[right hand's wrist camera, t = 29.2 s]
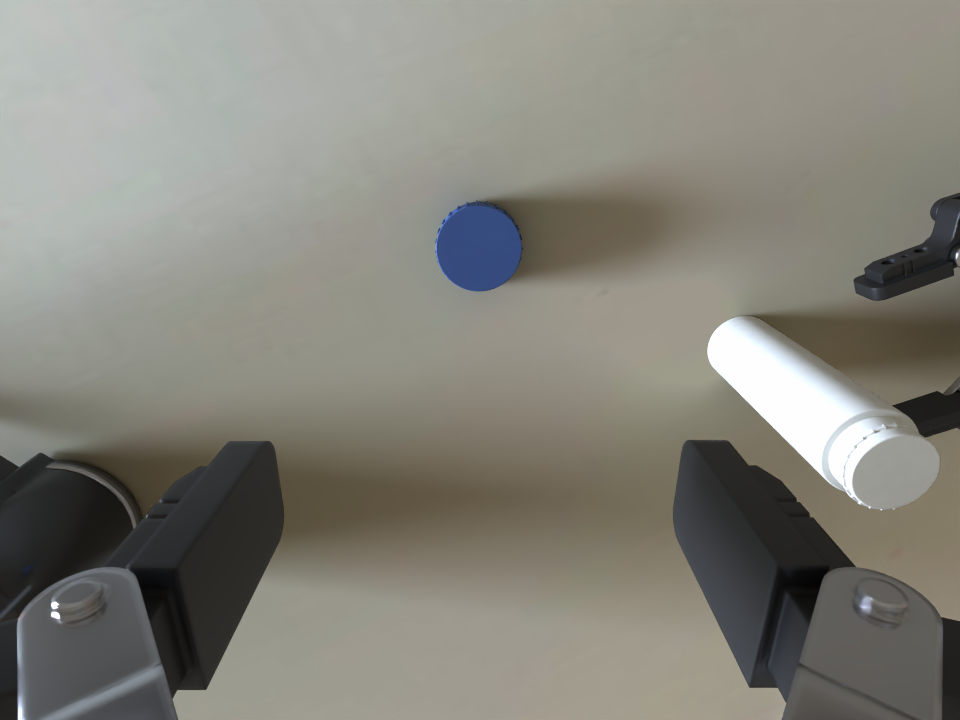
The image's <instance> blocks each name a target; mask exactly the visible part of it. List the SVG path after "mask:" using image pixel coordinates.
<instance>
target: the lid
mask: <svg viewBox="0 0 960 720" xmlns="http://www.w3.org/2000/svg"><path fill="white" fill-rule="evenodd" d="M442 224H443V225H442V227H441V228H439V230H438V237H437V239H436V241H435V243H436V251H435V253H436V255H437V260H438V263H439V265H440V267H441V269H442V271H443V273H444V274H445V275H446V276H447V278H448V279H449V280H451V281H452V282H453V283H454V284H456V285H457V286H459V287H461V288H464V289H467V290H471V291H487V290H491V289H494V288H496V287H499V286H500V285H502V284H504V283H505V282H506V281H507V280H508V279H509V278H510V277H511V276H512V275H513V274H514V272H515V271H516V269H517V267H518V265H519V262H520V260H521V253H522V250H523V248H522V244H521V240H522V238H521V235H519V232H518V230H519V228H518V226H517V225H515V223H514V220H513V217H510V216H509V215H508V214H507V212H506V210H502V209H501V208H499V207H498V205H493V204H490V203H488V202H487V201H486V203H485V202H478V201H476V202H473V203H468V202H467V203H466V204H465V205H463V206H460V207H459V206H458V207H457V209H455V210H454V211H453V212H452V213H451V212H450V213H449V215H448V217H447V218H446V220H445V219H444V220H443V222H442Z"/></svg>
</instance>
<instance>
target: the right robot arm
mask: <svg viewBox="0 0 960 720" xmlns="http://www.w3.org/2000/svg"><path fill="white" fill-rule="evenodd" d="M673 522H674V529H675V533H676V537H677V540H678V542H679V544H680V546H681V548H682V550H683V552H684V554H685V556H686V558H687V561H688V563H689V565H690V567H691V569H692V571H693V573H694V575H695V577H696V579H697V581H698V583H699V585H700V587H701V589H702V591H703V593H704V595H705V597H706V599H707V602H708V604H709V606H710V608H711V610H712V612H713V614H714V616H715V618H716V620H717V622H718V624H719V626H720V628H721V630H722V632H723V634H724V636H725V638H726V640H727V643H728V645H729V647H730V649H731V651H732V653H733V655H734V657H735V659H736V661H737V663H738V665H739V667H740V669H741V671H742V673H743V675H744V677H745V679H746V681H747V684H748V686H749V688H778V689H779V691H780V692H781V694H782V696H783V698H784V700H785V702H786V707H785V710H784V714H783V717H782V720H960V621H956V620H951V619H947V618H942V617H940V614H939V613H938V611H937V610H936V608H935V607H934V606H933V605H932V604H931V603H930V602H929V600H927V599H926V598H925V597H924V596H923V595H922V594H920V593H919V592H918V591H916V590H915V589H913V588H912V587H910V586H909V585H907V584H905V583H903V582H901V581H899V580H897V579H895V578H893V577H891V576H888V575H886V574H883V573H880V572H877V571H874V570H869V569H865V568H858V567H856V566H855V565H854V564H853V563H852V562H851V561H850V559H849V558H848V557H847V556H846V555H845V554H844V553H843V551H842V550H841V549H840V548H839V547H838V546H837V545H836V543H835V542H834V541H833V540H832V539H831V538H830V536H829V535H828V534H827V533H826V532H825V531H824V530H823V528H822V527H821V526H820V525H819V524H818V523H817V522H816V520H815V519H814V518H813V517H810V516H809V512H808V511H807V510H806V509H805V508H804V507H803V505H802V504H801V503H800V502H797V500H796V497H795V496H794V495H793V494H792V493H791V492H790V491H789V489H788V488H787V487H786V486H785V485H784V484H783V482H782V481H781V480H779V479H777V478H776V477H774V476H773V475H771V474H769V473H768V472H766V471H765V470H763V469H762V468H760V467H758V466H749V465H748V464H747V463H746V462H745V460H744V459H743V458H742V457H741V456H740V454H739V453H738V452H737V451H736V449H735V448H734V447H733V446H732V444H731V443H730V442H729V441H727V440H687V441H686V442H685V443H684V445H683V448H682V452H681V458H680V465H679V472H678V479H677V486H676V493H675V500H674V507H673ZM283 524H284V507H283V500H282V494H281V487H280V480H279V473H278V467H277V460H276V453H275V449H274V446H273V444H272V443H271V442H270V441H230V442H228V443H227V444H226V445H225V446H224V447H223V449H222V450H221V451H220V452H219V453H218V455H217V456H216V457H215V458H214V460H213V461H212V462H211V463H210V464H209V466H208V467H198V468H197V469H195V470H193V471H192V472H190V473H189V474H187V475H186V476H184V477H182V478H181V479H179V480H178V481H176V482H175V483H174V484H173V485H172V486H171V487H170V488H169V490H168V491H167V492H166V493H165V494H164V495H163V496H162V498H161V499H160V502H159V504H155V506H154V507H153V508H152V509H151V510H150V511H149V512H148V514H147V515H146V519H142V520H141V516H140V512H139V510H138V507H137V505H136V503H135V501H134V500H133V498H132V496H131V495H130V494H129V493H128V491H127V490H126V489H125V488H124V487H123V486H122V485H121V484H120V483H119V482H118V481H116V480H115V479H114V478H112V477H111V476H109V475H108V474H106V473H105V472H103V471H101V470H99V469H97V468H95V467H92V466H90V465H86V464H83V463H79V462H74V461H66V460H53V459H51V458H49V457H48V456H46V455H44V454H42V453H39V454H37V455H36V456H34V457H33V458H32V459H30V460H29V461H27V462H26V463H25V464H23V465H22V466H20V467H18V466H16V465H15V464H13V463H12V462H10V461H8V460H7V459H5V458H3V457H2V456H0V720H178V717H177V714H176V710H175V707H174V703H173V700H172V699H173V697H174V695H175V693H176V691H177V690H206V689H207V687H208V685H209V683H210V681H211V679H212V677H213V675H214V673H215V671H216V669H217V667H218V665H219V663H220V661H221V659H222V657H223V655H224V653H225V651H226V649H227V646H228V644H229V642H230V640H231V638H232V636H233V634H234V632H235V630H236V628H237V626H238V624H239V622H240V620H241V618H242V616H243V614H244V612H245V610H246V608H247V606H248V604H249V602H250V600H251V598H252V596H253V594H254V592H255V590H256V588H257V586H258V584H259V582H260V580H261V578H262V576H263V574H264V572H265V570H266V567H267V565H268V563H269V561H270V559H271V557H272V555H273V553H274V551H275V549H276V547H277V545H278V543H279V541H280V538H281V535H282V530H283Z"/></svg>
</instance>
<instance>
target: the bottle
mask: <svg viewBox="0 0 960 720" xmlns="http://www.w3.org/2000/svg"><path fill="white" fill-rule="evenodd" d="M708 358H709V361H710V363H711V365H712V366H713V368H714V369H715V370H716V371H717V372H718V373H719V374H720V375H721V376H722V377H723V378H724V379H725V380H726V381H727V382H728V383H729V384H730V385H731V386H732V387H733V388H734V389H735V390H736V391H737V392H738V393H739V394H740V395H741V396H742V397H743V398H744V399H745V400H746V401H747V402H748V403H749V404H750V405H751V406H752V407H753V408H754V409H755V410H756V411H757V412H758V413H759V414H760V415H761V416H762V417H763V418H764V419H765V420H766V421H767V422H768V423H770V424H771V425H772V426H773V427H774V428H775V429H776V430H777V431H778V432H779V433H780V434H781V435H782V436H783V437H784V438H785V439H786V440H787V441H788V442H789V443H790V444H791V445H792V446H793V447H794V448H795V449H796V450H797V451H798V452H799V453H800V454H801V455H802V456H803V457H804V458H805V459H806V460H807V461H808V462H809V463H810V464H811V465H812V466H813V467H814V468H815V469H816V470H817V471H818V472H819V473H820V474H821V475H822V476H823V477H824V478H825V479H826V480H827V481H828V482H829V483H830V484H831V485H832V486H834V487H835V488H838V489H840V490H842V491H846V492H847V493H848V495H849V496H850V497H851V498H852V499H854V500H855V501H856V502H858V503H859V504H860V505H863V506H866V507H869V508H870V509H881V510H887V509H897V508H900V507H902V506H905V505H907V504H909V503H911V502H913V501H915V500H917V499H918V498H919V497H921V496H922V495H923V494H924V493H926V492H927V491H928V490H929V488H930V487H931V486H932V485H933V483H934V482H935V480H936V478H937V476H938V473H939V470H940V456H939V453H938V451H937V449H936V447H935V446H934V444H933V443H932V442H930V441H929V440H928V439H926V438H925V437H923V436H922V435H920V434H919V432H918V429H917V427H916V425H915V424H914V422H913V421H912V420H911V419H910V418H909V417H908V416H907V415H905V414H904V413H902V412H901V411H899V410H898V409H896V408H895V407H893V406H892V405H890V404H889V403H887V402H885V401H884V400H882V399H881V398H879V397H878V396H876V395H875V394H873V393H872V392H870V391H869V390H867V389H866V388H864V387H863V386H861V385H860V384H858V383H857V382H855V381H854V380H852V379H850V378H849V377H847V376H846V375H844V374H843V373H841V372H840V371H838V370H837V369H835V368H834V367H832V366H831V365H829V364H828V363H826V362H825V361H823V360H822V359H820V358H819V357H817V356H815V355H814V354H812V353H811V352H809V351H808V350H806V349H805V348H803V347H802V346H800V345H799V344H797V343H796V342H794V341H793V340H791V339H790V338H788V337H787V336H785V335H784V334H782V333H780V332H779V331H777V330H776V329H774V328H773V327H771V326H770V325H768V324H767V323H765V322H764V321H762V320H760V319H759V318H756V317H752V316H739V317H735V318H732V319H730V320H728V321H726V322H724V323H723V324H722V325H720V326H719V327H718V328H717V329H716V331H715V332H714V333H713V335H712V336H711V338H710V341H709V344H708Z"/></svg>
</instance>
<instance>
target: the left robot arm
mask: <svg viewBox="0 0 960 720" xmlns="http://www.w3.org/2000/svg"><path fill="white" fill-rule="evenodd" d="M930 214H931V217H932V219H933V220H935V225H934V229H933V232H932V234H931V236H930V237H929V238H928V239H927V240H926V241H925V242H924V243H922V244H920V245H918V246H915V247H912V248H910V249H907V250H904V251H901V252H899V253H896V254H894V255H890V256H888V257H886V258H882V259H879V260H877V261H874V262H872V263H871V264H870V265H868V266H867V267H866V268H865V269H864V270H865V274H864V275H861V276H859V277H856V278H855V279H854V285H855V291H856V293H857V294H859V295H861V296H864V297H866V298H869V299H871V300H875V301H880V300H885V299H889V298H891V297H894V296H897V295H900V294H903V293H906V292H908V291H911V290H914V289H917V288H920V287H923V286H925V285H928V284H931V283H934V282H937V281H940V280H942V279H945V278H948V277H951V276H954V270H953V268H955V267H960V193H957V194H954V195H951V196H948V197H945V198H942V199H939V200H938V201H936V202H935V203H934V205H933V206H932V208H931V212H930ZM893 407H895V408H896V409H898V410H899V411H901V412H902V413H904V414H905V415H907V416H908V417H909V418H910V419H911V420H912V421H913V422H914V424H915V425H916V427H917V429H918V432H919V434H920V435H922V436H923V437H929V436H932V435H933V434H934V435H935V434H938V433H942V432H945V431H948V430H951V429H954V428H958V429H960V377H959V378H958V379H957V380H956V381H955V382H954V383H953V384H952V385H951V386H950V387H949V388H948V389H947V390H946V391H945V392H944V393H943V394H942V393H940V392H938V391H936V392H933V393H930V394H927V395H924V396H921V397H917V398H914V399H911V400H908V401H905V402H902V403H899V404H896V405H893Z"/></svg>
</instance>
